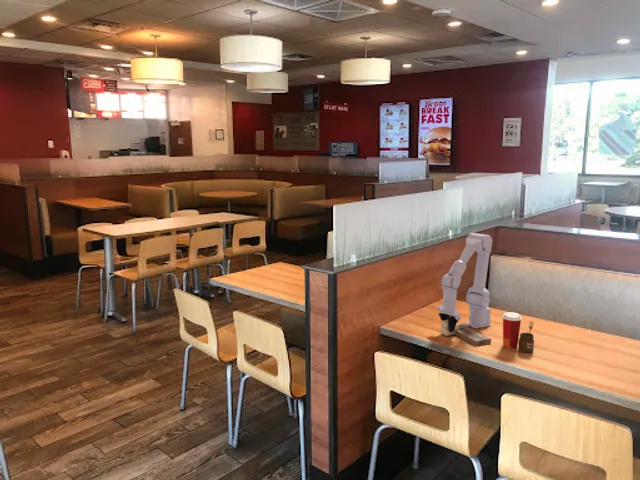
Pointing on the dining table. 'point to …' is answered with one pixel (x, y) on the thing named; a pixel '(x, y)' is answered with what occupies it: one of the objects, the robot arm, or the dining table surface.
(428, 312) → the dining table surface
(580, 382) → the dining table surface
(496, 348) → the dining table surface
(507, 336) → the paper cup
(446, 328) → the wooden mallet
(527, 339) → the utensil holder
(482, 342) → the plank
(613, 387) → the dining table surface
